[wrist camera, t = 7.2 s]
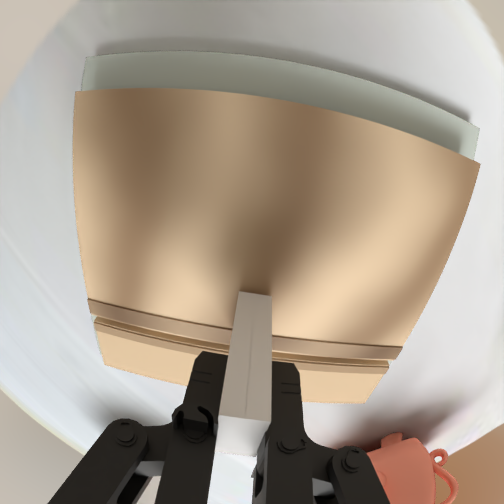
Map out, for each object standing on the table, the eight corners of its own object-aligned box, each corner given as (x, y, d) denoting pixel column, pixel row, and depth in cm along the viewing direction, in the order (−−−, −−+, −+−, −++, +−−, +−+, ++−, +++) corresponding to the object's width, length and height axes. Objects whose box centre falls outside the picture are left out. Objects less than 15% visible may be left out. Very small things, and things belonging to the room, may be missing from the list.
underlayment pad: (105, 345, 19) (93, 366, 17) (96, 59, 11) (71, 54, 9) (367, 385, 20) (373, 408, 18) (469, 126, 11) (494, 131, 9)
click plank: (100, 302, 16) (91, 315, 15) (89, 91, 10) (74, 91, 9) (388, 346, 16) (394, 361, 15) (466, 158, 11) (481, 164, 10)
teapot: (343, 421, 22) (359, 548, 11) (459, 418, 23) (489, 503, 12) (285, 476, 28) (284, 561, 17) (390, 474, 30) (402, 543, 18)
